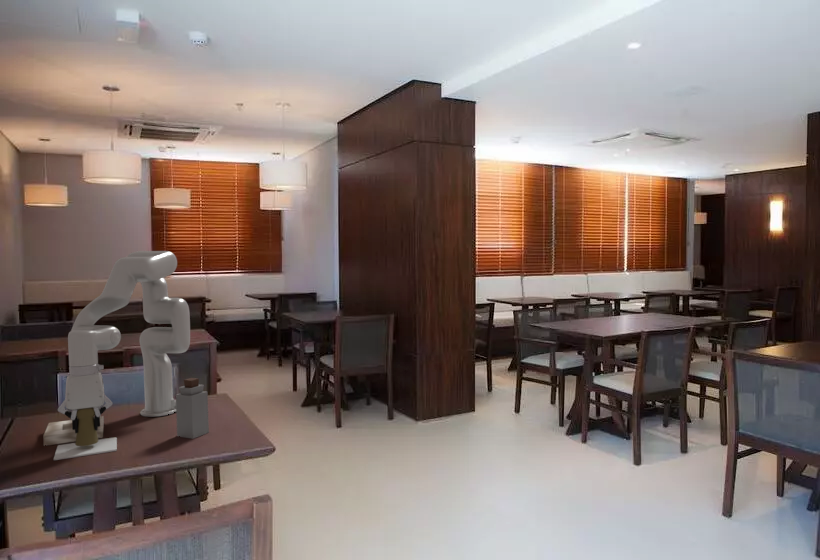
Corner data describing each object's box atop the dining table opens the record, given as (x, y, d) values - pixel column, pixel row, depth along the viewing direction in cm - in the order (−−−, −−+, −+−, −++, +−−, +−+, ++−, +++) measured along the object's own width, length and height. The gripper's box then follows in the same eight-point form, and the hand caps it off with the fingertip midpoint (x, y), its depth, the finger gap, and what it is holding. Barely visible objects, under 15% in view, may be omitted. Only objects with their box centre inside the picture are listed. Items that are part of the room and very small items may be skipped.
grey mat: (116, 438, 182) (116, 437, 182) (116, 450, 170) (116, 449, 170) (57, 446, 175) (57, 445, 175) (53, 460, 163) (53, 458, 163)
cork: (102, 439, 175) (101, 404, 175) (89, 446, 169) (88, 409, 169) (84, 439, 176) (82, 403, 175) (70, 445, 170) (69, 409, 169)
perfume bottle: (208, 432, 187) (207, 377, 186) (192, 438, 181) (191, 382, 180) (193, 430, 190) (191, 376, 189) (177, 436, 184) (175, 380, 183)
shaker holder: (103, 424, 197) (103, 416, 197) (102, 437, 183) (102, 428, 183) (49, 431, 190) (48, 422, 190) (43, 445, 176) (43, 436, 176)
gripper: (115, 365, 179) (118, 423, 180) (52, 371, 171) (55, 431, 172) (115, 369, 172) (118, 429, 173) (49, 376, 164) (52, 438, 165)
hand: (86, 429), depth 172 cm, fingers closed on cork, 4 cm apart
